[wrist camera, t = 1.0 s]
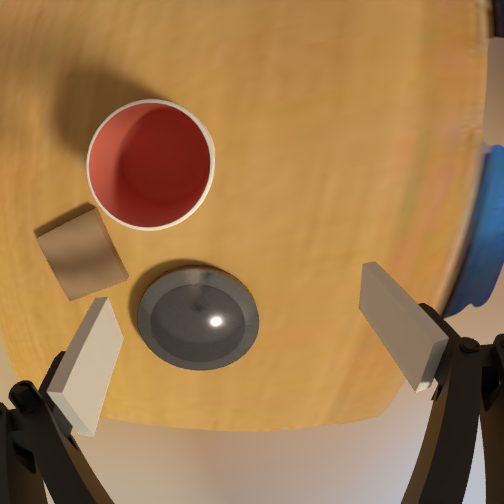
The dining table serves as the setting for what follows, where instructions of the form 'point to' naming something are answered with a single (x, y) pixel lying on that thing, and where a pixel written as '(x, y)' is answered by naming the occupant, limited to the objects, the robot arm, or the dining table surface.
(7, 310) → the dining table surface
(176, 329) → the grey plate
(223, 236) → the dining table surface
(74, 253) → the oak coaster
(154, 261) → the dining table surface
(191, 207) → the cup
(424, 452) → the robot arm
